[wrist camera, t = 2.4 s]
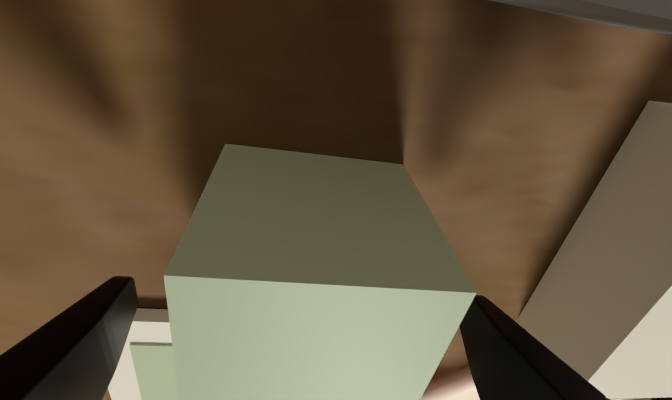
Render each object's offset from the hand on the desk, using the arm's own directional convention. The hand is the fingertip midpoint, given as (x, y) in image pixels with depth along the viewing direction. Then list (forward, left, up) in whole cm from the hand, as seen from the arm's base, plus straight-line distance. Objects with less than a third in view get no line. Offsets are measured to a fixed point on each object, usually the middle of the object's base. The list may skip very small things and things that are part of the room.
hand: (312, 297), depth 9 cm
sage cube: (0, 0, -3) cm, 3 cm away
